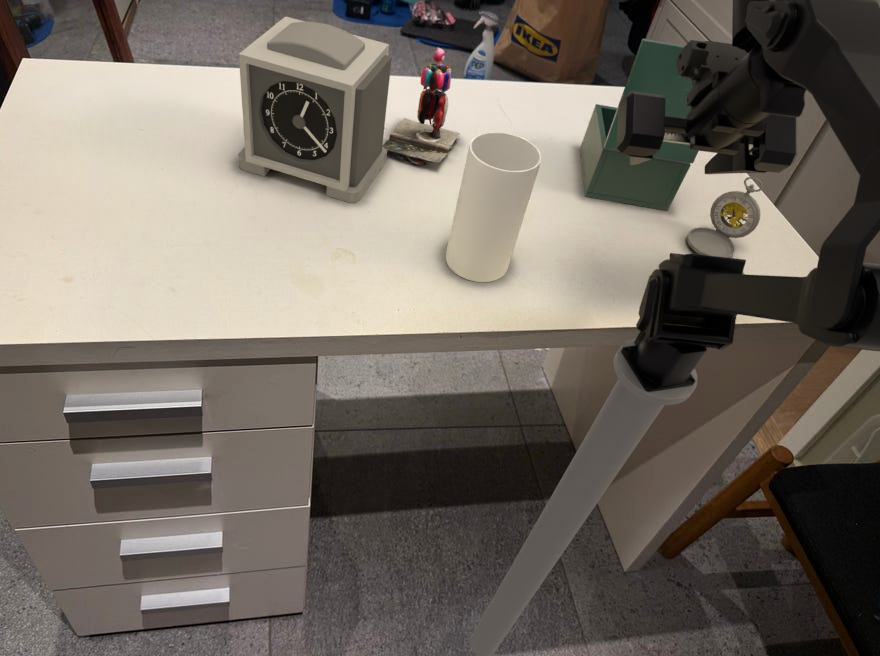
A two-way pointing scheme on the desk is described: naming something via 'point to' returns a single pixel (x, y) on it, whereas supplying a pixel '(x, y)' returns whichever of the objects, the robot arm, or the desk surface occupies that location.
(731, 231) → the pocket watch
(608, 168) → the panel
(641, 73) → the lid
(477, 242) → the cup
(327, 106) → the alarm clock
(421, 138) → the statue
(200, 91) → the desk surface
